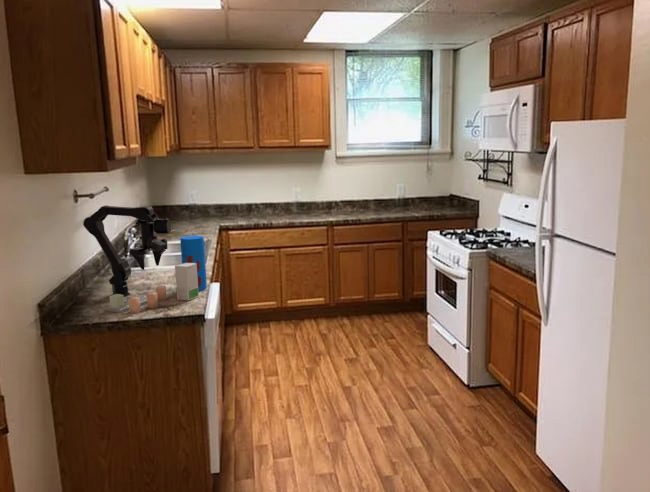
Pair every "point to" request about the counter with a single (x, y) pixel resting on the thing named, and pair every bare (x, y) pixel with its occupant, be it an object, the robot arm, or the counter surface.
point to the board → (126, 306)
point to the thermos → (195, 257)
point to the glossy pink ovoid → (161, 293)
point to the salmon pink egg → (152, 300)
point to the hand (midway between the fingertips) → (150, 267)
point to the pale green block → (116, 301)
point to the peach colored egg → (134, 305)
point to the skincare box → (186, 281)
